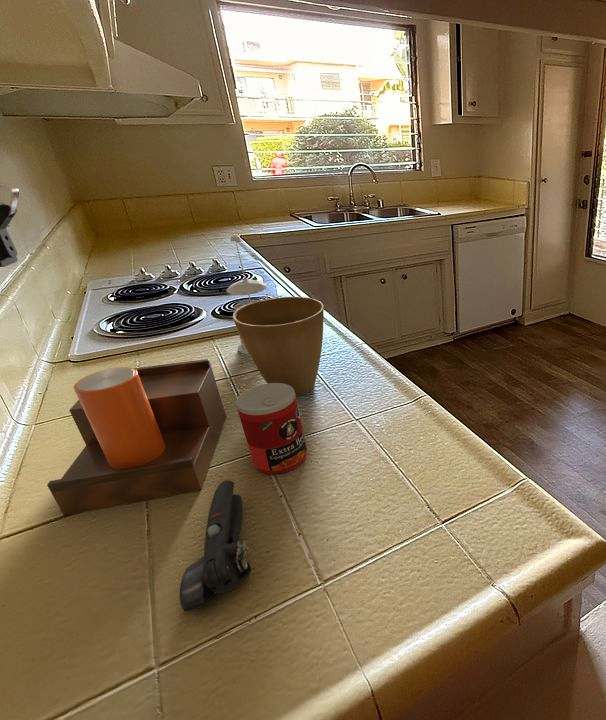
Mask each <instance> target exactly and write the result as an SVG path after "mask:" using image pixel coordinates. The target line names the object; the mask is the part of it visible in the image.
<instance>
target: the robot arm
mask: <svg viewBox="0 0 606 720" xmlns="http://www.w3.org/2000/svg"><path fill="white" fill-rule="evenodd" d="M19 197H20V191H19V188H17V187H16V186H13V185H10V184H7V183H4V182H2V181H0V268H6V267H8V266H10V265H12V264H15V263H17V262H18V259H19V258H18V250H17V249H16V246H15V244H14V242H13V240H12V237H11V235H10V233H9V231H8V229H7V228H9V227H10V226H11V222H12V220H13V219H14V218H15V215H16V214H18V213H17V212H18V208H17V206H18V202H19Z"/></svg>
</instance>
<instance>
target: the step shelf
mask: <svg viewBox="0 0 606 720" xmlns="http://www.w3.org/2000/svg"><path fill="white" fill-rule="evenodd" d="M211 364H212V363H211V361H210V358H205V359H198V360H189V361H181V362H174V363H173V362H172V363H166V364H156V365H147V366H140V367H133V368H134V369H135V370H137V372H138V375H139V378H140V380H141V383H142V385H143V388H144V391H145V393H146V396H147V398H148V401H149V404H150V406H151V409H152V411H153V414H154V417H155V419H156V422H157V424H158V427H159V430H160V432H161V435H162V437H163V440H164V443H165V446H166V447H165V450H164V452H163V453H162V454H161V455H160V456H159V457H157V458H156V459H155V460H153V461H151V462H149V463H147V464H145V465H141V466H135V467H129V468H123V469H114V468H112V467H110V465H109V463H108V461H107V459H106V457H105V455H104V453H103V450H102V448H101V446H100V444H99V442H98V440H97V438H96V435H95V433H94V431H93V429H92V427H91V425H90V422H89V420H88V418H87V416H86V414H85V412H84V410H83V407H82V405H81V403H80V401H79V399H78V400H77V401H76V402H75V403H74V404H73V405H72V406H71V408H70V409H69V410H68V411H69V413H70V415H71V417H72V419H73V421H74V423H75V425H76V428H77V430H78V432H79V434H80V435H81V438H82V440H83V442H84V444H85V446H84V448H83V449H82V450H81V451H80V453H79V454H78V455H77V457H76V458H75V459H74V461H73V462H72V463H71V465H70V466H69V468H67V470H66V471H65V473H64V474H63V476H62V477H61V478H58V479H52V480H49V482H48V483H47V484H46V485H47V486H46V487H48V490H49V491H50V494H51V496H52V497H53V499H54V501H55V502H56V504H57V506H58V508H59V510H60V511H61V513H62V515H63V516H69V515H76V514H81V513H86V512H91V511H96V510H102V509H108V508H113V507H117V506H122V505H123V506H124V505H129V504H135V503H139V502H144V501H150V500H155V499H160V498H166V497H171V496H176V495H183V494H188V493H192V492H197V491H198V492H199V491H202V490H203V486H204V484H205V481H206V478H207V474H208V472H209V469H210V467H211V463H212V460H213V457H214V454H215V453H216V449H217V446H218V443H219V440H220V437H221V434H222V432H223V428H224V425H225V422H226V419H227V413H226V410H225V408H224V404H223V400H222V397H221V394H220V390H219V388H218V387H219V386H218V384H217V381H216V378H215V374H214V371H213V368H212V365H211Z"/></svg>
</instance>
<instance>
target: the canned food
mask: <svg viewBox="0 0 606 720" xmlns="http://www.w3.org/2000/svg"><path fill="white" fill-rule="evenodd" d="M235 403H236V409H237V413H238V416H239V421H240V425H241V427H242V430H243V435H244V438H245V441H246V444H247V448H248V450H249V454H250V455H249V456H250V458H251V461H252V464H253V465H254V467H255V468H256V470H258V471H259V472H260V473H263V474H266V475H277V474H278V475H280V474H283V473H288V472H290V471H293V470H294V469H296V468H297V467H300V465H301V464H302V463H303V462H304V460H306V457H307V452H308V447H307V441H306V437H305V433H304V428H303V427H304V426H303V423H302V418H301V413H300V408H299V404H298V400H297V396H296V395H295V392H294V389H293V388H292V387H291V386H290V385H287V384H283V383H268V384H267V383H262V384H259V385H255V386H253V387H250V388H248V389H246V390H245V391H243V392H242V393H240V394H239V395H238V397H237V398H236V401H235Z"/></svg>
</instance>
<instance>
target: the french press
mask: <svg viewBox="0 0 606 720" xmlns="http://www.w3.org/2000/svg"><path fill="white" fill-rule="evenodd" d="M240 241H242V240H241V237H240V235H238V234H232V235H231V236H230V242H235V246H236V250H237V255H238V258H239V263H240V266H241V271H242V275H243V279H242V280H238V281H236V282H234V283H231V284H230V285H229V286H228V287H227V288H226V290H225V291H226V293H227V294H229V295H231V296H248V300H244V301H241V302H239V303H236V304H235V305H234V306H233V311H236V310H237V309H239V308H241V307H243V306H245V305H247V304H250V303H254V302H257V301H261V300H264V298H265V300H266V299H270V298H269V296H270V297H271V298H276V297H275V296H274V295H272V294H271V293H266V295H262V296H261V299H252V300H251V296H250V295H254V294H258V293H261V292H264V291H265V290H266V289H267V287H268V284H267V283H266V282H263V281H262V280H255V279H252V278H251V279H250V278H248V279H246V275H245V271H244V266H243V263H242V259H241V255H240V251H239V247H238V243H237V242H240ZM237 332H238V331H237ZM238 336H239V341H240V343H239V345H238V346H237V351H238V352H239V353H240V354H245V355H249V353H248V351H247V349H246V347H245V345H244V343H243V341H242V339H241V337H240V334H239V332H238Z"/></svg>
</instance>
